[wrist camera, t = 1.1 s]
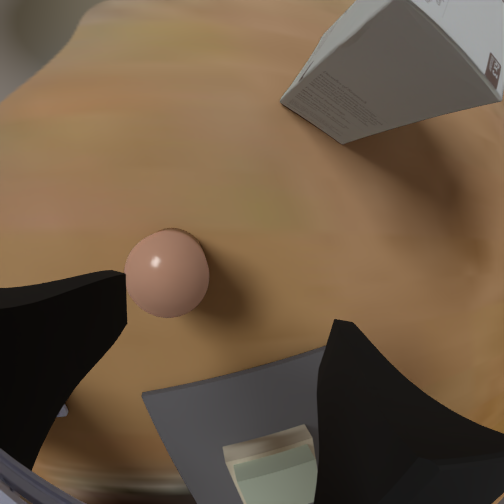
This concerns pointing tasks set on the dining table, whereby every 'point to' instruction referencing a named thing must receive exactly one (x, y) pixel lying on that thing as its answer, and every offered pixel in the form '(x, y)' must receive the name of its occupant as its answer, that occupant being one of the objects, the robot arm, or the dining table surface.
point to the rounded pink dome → (167, 273)
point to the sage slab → (279, 478)
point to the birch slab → (265, 448)
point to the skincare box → (401, 65)
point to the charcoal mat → (233, 418)
